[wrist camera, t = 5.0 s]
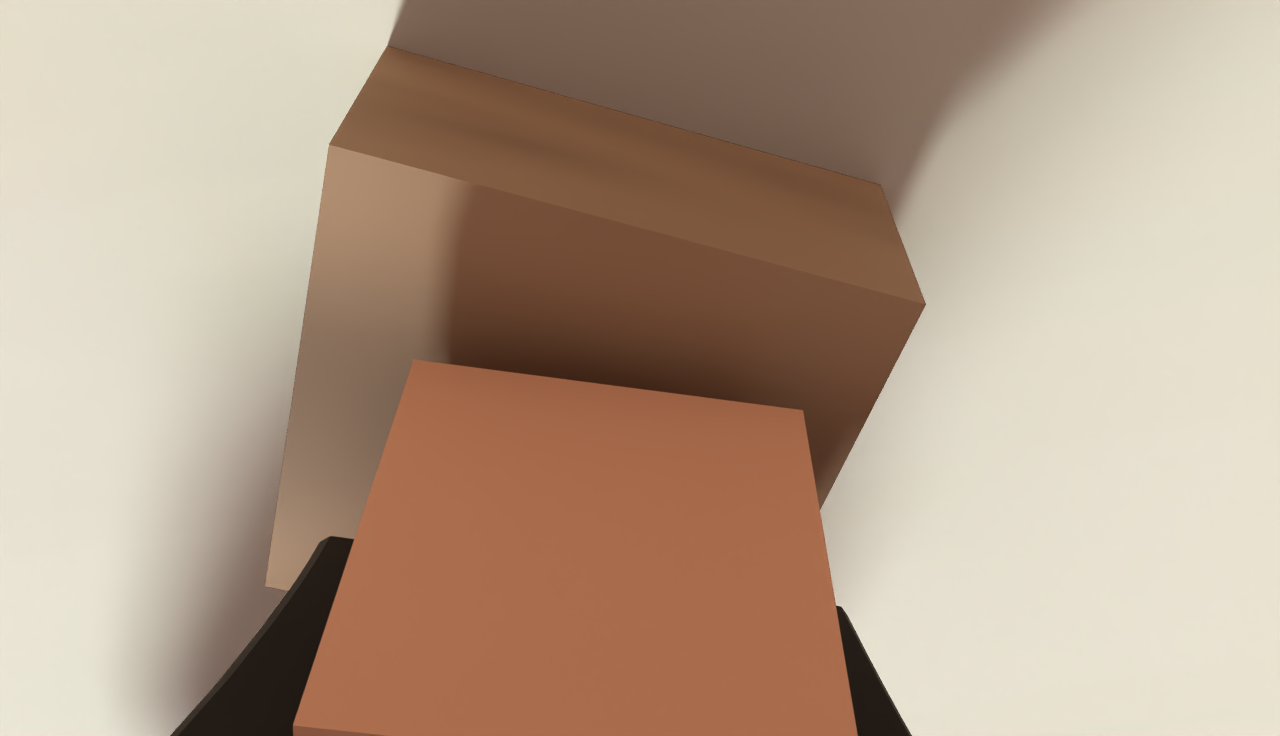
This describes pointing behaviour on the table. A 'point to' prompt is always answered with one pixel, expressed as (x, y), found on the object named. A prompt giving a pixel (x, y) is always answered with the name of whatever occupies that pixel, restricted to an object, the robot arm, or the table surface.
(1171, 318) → the table surface
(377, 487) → the rust block
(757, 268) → the walnut slab
